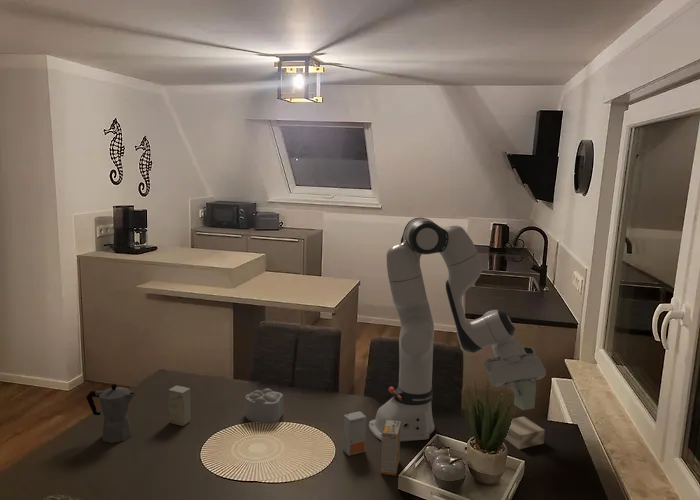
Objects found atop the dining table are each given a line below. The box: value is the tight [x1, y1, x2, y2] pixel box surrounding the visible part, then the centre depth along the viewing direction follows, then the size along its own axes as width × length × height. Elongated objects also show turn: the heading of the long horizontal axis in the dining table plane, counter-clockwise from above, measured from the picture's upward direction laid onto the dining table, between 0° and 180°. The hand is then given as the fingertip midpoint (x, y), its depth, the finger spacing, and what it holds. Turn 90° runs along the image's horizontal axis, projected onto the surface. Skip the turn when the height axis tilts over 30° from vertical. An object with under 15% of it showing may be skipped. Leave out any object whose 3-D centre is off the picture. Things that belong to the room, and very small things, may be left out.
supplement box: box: [380, 420, 401, 476], centre depth 158 cm, size 8×5×13 cm, turn 168°
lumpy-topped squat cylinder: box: [244, 387, 284, 424], centre depth 190 cm, size 10×13×9 cm
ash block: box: [504, 415, 546, 450], centre depth 177 cm, size 10×10×5 cm
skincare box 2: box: [342, 410, 367, 457], centre depth 167 cm, size 6×4×12 cm
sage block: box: [513, 380, 537, 411], centre depth 175 cm, size 4×4×8 cm
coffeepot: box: [86, 383, 136, 444], centre depth 173 cm, size 15×9×18 cm, turn 92°
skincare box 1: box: [168, 384, 192, 427], centre depth 184 cm, size 6×4×12 cm
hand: (526, 394), depth 174 cm, fingers closed on sage block, 4 cm apart
